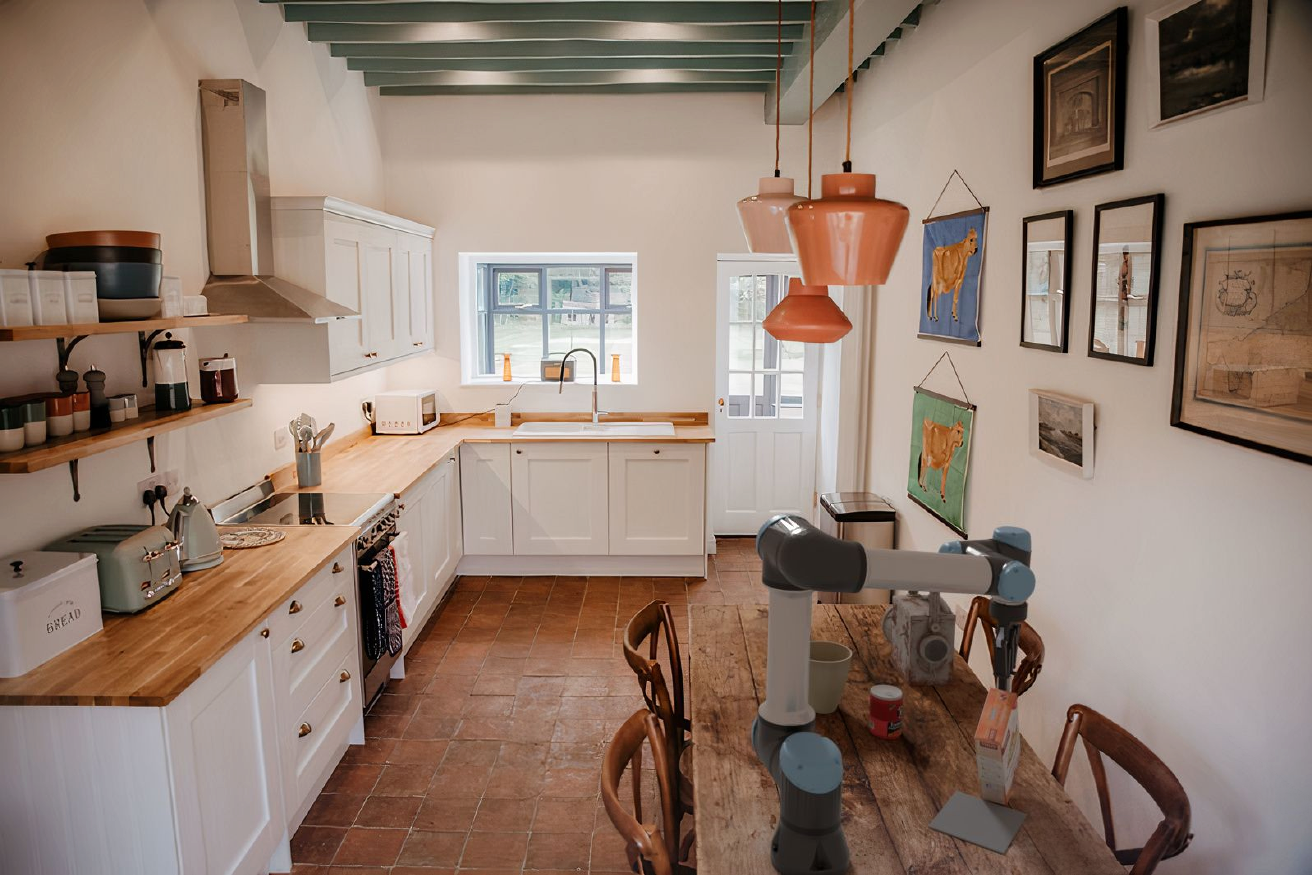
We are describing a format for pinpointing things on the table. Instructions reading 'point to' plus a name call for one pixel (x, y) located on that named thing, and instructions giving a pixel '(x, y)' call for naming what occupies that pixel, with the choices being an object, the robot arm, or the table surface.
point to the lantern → (921, 638)
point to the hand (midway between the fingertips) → (1003, 703)
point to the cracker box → (998, 745)
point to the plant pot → (827, 675)
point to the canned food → (886, 711)
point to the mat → (978, 822)
